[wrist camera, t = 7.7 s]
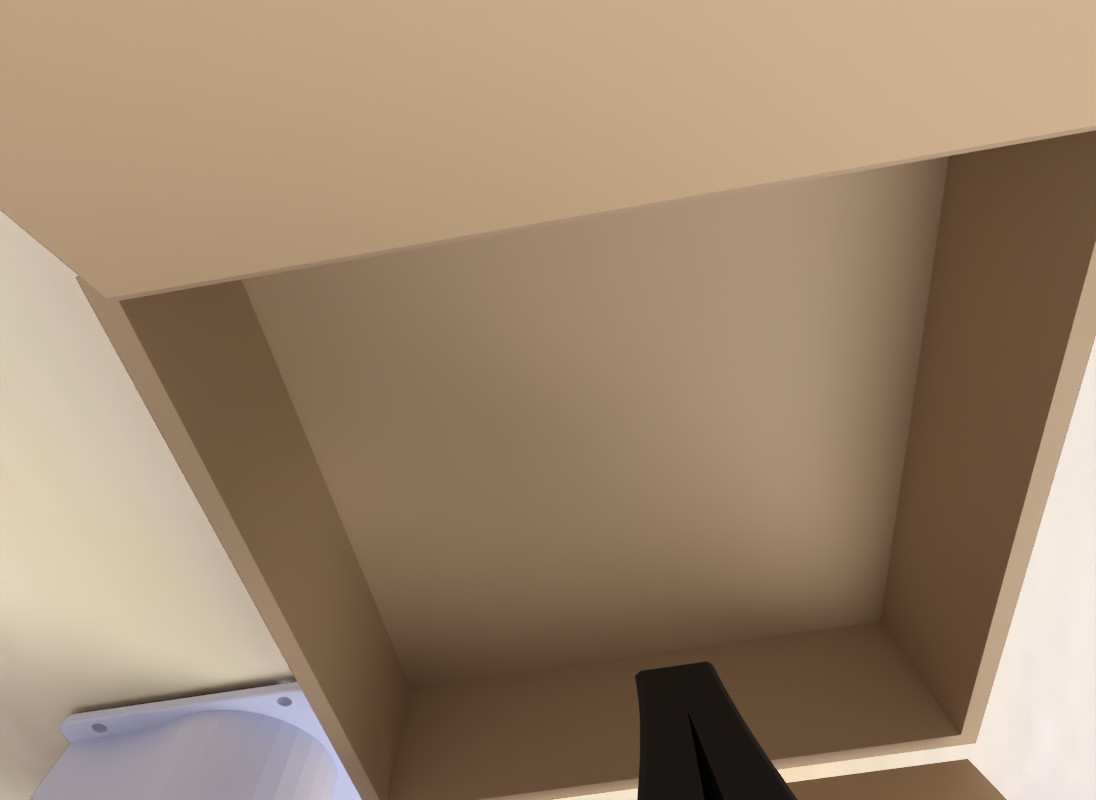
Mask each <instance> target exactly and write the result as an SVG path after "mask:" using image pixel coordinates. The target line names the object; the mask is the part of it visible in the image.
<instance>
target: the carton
mask: <svg viewBox="0 0 1096 800" xmlns="http://www.w3.org/2000/svg"><path fill="white" fill-rule="evenodd" d="M76 279H77V281H78V283H79V285H80V286H81V288H82V290H83V292H84V294H85V296H86V297H87V299H88V301H89V303H90V305H91V307H92V308H93V310H94V312H95V314H96V316H97V317H98V319H99V321H100V323H101V325H102V327H103V328H104V330H105V332H106V334H107V336H108V338H109V339H110V341H111V343H112V345H113V347H114V348H115V350H116V352H117V354H118V356H119V358H120V359H121V361H122V363H123V365H124V367H125V369H126V370H127V372H128V374H129V376H130V378H131V380H132V381H133V383H134V385H135V387H136V389H137V390H138V392H139V394H140V396H141V398H142V400H143V401H144V403H145V405H146V407H147V409H148V411H149V412H150V414H151V416H152V418H153V420H154V421H155V423H156V425H157V427H158V429H159V431H160V432H161V434H162V436H163V438H164V440H165V442H166V443H167V445H168V447H169V449H170V451H171V452H172V454H173V456H174V458H175V460H176V462H177V463H178V465H179V467H180V469H181V471H182V473H183V474H184V476H185V478H186V480H187V482H188V483H189V485H190V487H191V489H192V491H193V493H194V494H195V496H196V498H197V500H198V502H199V504H200V505H201V507H202V509H203V511H204V513H205V515H206V516H207V518H208V520H209V522H210V524H211V525H212V527H213V529H214V531H215V533H216V535H217V536H218V538H219V540H220V542H221V544H222V546H223V547H224V549H225V551H226V553H227V555H228V556H229V558H230V560H231V562H232V564H233V566H234V567H235V569H236V571H237V573H238V575H239V577H240V578H241V580H242V582H243V584H244V586H245V587H246V589H247V591H248V593H249V595H250V597H251V598H252V600H253V602H254V604H255V606H256V608H257V609H258V611H259V613H260V615H261V617H262V618H263V620H264V622H265V624H266V626H267V628H268V629H269V631H270V633H271V635H272V637H273V639H274V640H275V642H276V644H277V646H278V648H279V650H280V651H281V653H282V655H283V657H284V659H285V660H286V662H287V664H288V666H289V668H290V670H291V671H292V673H293V675H294V677H295V679H296V681H297V682H298V684H299V686H300V688H301V690H302V691H303V693H304V695H305V697H306V699H307V701H308V702H309V704H310V706H311V708H312V710H313V712H314V713H315V715H316V717H317V719H318V721H319V722H320V724H321V726H322V728H323V730H324V732H325V733H326V735H327V737H328V739H329V741H330V743H331V744H332V746H333V748H334V750H335V752H336V753H337V755H338V757H339V759H340V761H341V763H342V764H343V766H344V768H345V770H346V772H347V774H348V775H349V777H350V779H351V781H352V783H353V785H354V786H355V788H356V790H357V792H358V794H359V795H360V797H361V799H362V800H552V799H560V798H567V797H575V796H582V795H590V794H597V793H605V792H612V791H620V790H627V789H635V788H638V781H639V762H640V715H639V701H638V694H637V687H636V680H635V675H637V674H638V673H639V672H640V671H643V670H650V669H657V668H664V667H671V666H678V665H685V664H692V663H699V662H706V661H707V662H709V663H711V664H712V665H713V666H714V668H715V670H716V672H717V674H718V676H719V678H720V680H721V681H722V683H723V685H724V687H725V689H726V691H727V692H728V694H729V696H730V698H731V699H732V701H733V703H734V705H735V706H736V708H737V710H738V711H739V713H740V715H741V716H742V718H743V719H744V721H745V722H746V724H747V726H748V727H749V729H750V730H751V732H752V734H753V735H754V737H755V738H756V740H757V741H758V743H759V744H760V746H761V747H762V749H763V750H764V752H765V753H766V755H767V756H768V758H769V759H770V761H771V762H772V764H773V765H774V767H775V768H776V769H785V768H792V767H800V766H807V765H815V764H822V763H830V762H837V761H845V760H852V759H860V758H867V757H874V756H882V755H889V754H897V753H904V752H912V751H919V750H927V749H934V748H942V747H949V746H957V745H964V744H972V743H976V740H977V737H978V733H979V730H980V726H981V723H982V720H983V716H984V713H985V710H986V706H987V703H988V699H989V696H990V693H991V689H992V686H993V682H994V679H995V676H996V672H997V669H998V665H999V662H1000V659H1001V655H1002V652H1003V648H1004V645H1005V642H1006V638H1007V635H1008V631H1009V628H1010V625H1011V621H1012V618H1013V614H1014V611H1015V608H1016V604H1017V601H1018V597H1019V594H1020V591H1021V587H1022V584H1023V580H1024V577H1025V574H1026V570H1027V567H1028V563H1029V560H1030V557H1031V553H1032V550H1033V547H1034V543H1035V540H1036V536H1037V533H1038V530H1039V526H1040V523H1041V519H1042V516H1043V513H1044V509H1045V506H1046V502H1047V499H1048V496H1049V492H1050V489H1051V485H1052V482H1053V479H1054V475H1055V472H1056V468H1057V465H1058V462H1059V458H1060V455H1061V451H1062V448H1063V445H1064V441H1065V438H1066V434H1067V431H1068V428H1069V424H1070V421H1071V417H1072V414H1073V411H1074V407H1075V404H1076V400H1077V397H1078V394H1079V390H1080V387H1081V384H1082V380H1083V377H1084V373H1085V370H1086V367H1087V363H1088V360H1089V356H1090V353H1091V350H1092V346H1093V343H1094V339H1095V336H1096V126H1091V127H1085V128H1080V129H1074V130H1068V131H1063V132H1057V133H1051V134H1045V135H1040V136H1034V137H1028V138H1023V139H1017V140H1011V141H1005V142H1000V143H994V144H988V145H983V146H977V147H971V148H965V149H960V150H954V151H948V152H942V153H937V154H931V155H925V156H920V157H914V158H908V159H902V160H897V161H891V162H885V163H880V164H874V165H868V166H862V167H857V168H851V169H845V170H840V171H834V172H828V173H822V174H817V175H811V176H805V177H799V178H794V179H788V180H782V181H777V182H771V183H765V184H759V185H754V186H748V187H742V188H737V189H731V190H725V191H719V192H714V193H708V194H702V195H697V196H691V197H685V198H679V199H674V200H668V201H662V202H657V203H651V204H645V205H639V206H634V207H628V208H622V209H616V210H611V211H605V212H599V213H594V214H588V215H582V216H576V217H571V218H565V219H559V220H554V221H548V222H542V223H536V224H531V225H525V226H519V227H514V228H508V229H502V230H496V231H491V232H485V233H479V234H473V235H468V236H462V237H456V238H451V239H445V240H439V241H433V242H428V243H422V244H416V245H411V246H405V247H399V248H393V249H388V250H382V251H376V252H371V253H365V254H359V255H353V256H348V257H342V258H336V259H330V260H325V261H319V262H313V263H308V264H302V265H296V266H290V267H285V268H279V269H273V270H268V271H262V272H256V273H250V274H245V275H239V276H233V277H228V278H222V279H216V280H210V281H205V282H199V283H193V284H187V285H182V286H176V287H170V288H165V289H159V290H153V291H147V292H142V293H136V294H130V295H125V296H119V297H113V298H105V297H104V296H103V295H102V294H101V293H99V292H98V291H97V290H96V289H95V288H93V287H92V286H91V285H90V284H89V283H87V282H86V281H85V280H84V279H83V278H81V277H80V276H78V277H76Z"/></svg>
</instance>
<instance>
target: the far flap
mask: <svg viewBox="0 0 1096 800" xmlns="http://www.w3.org/2000/svg"><path fill="white" fill-rule="evenodd" d="M786 784H787V785H788V787H789V788H790V789H791V791H792V792H793V794H794V795H795V797H796V798H797V799H798V800H1006V799H1005V798H1004V796H1003V795H1002V794H1001V793H1000V792H999V791H998V790H997V789H996V788H995V787H994V786H993V785H992V784H991V783H990V782H989V781H988V780H987V779H986V778H985V777H984V776H983V775H982V773H981V772H980V771H979V770H978V769H977V768H976V767H975V766H974V765H973V764H972V763H971V762H970V761H969V760H968V759H965V760H957V761H950V762H942V763H934V764H927V765H919V766H912V767H904V768H897V769H889V770H882V771H874V772H866V773H859V774H851V775H844V776H836V777H829V778H821V779H814V780H806V781H798V782H791V783H786Z"/></svg>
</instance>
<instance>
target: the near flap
mask: <svg viewBox="0 0 1096 800" xmlns="http://www.w3.org/2000/svg"><path fill="white" fill-rule="evenodd" d="M1091 126H1096V0H0V210H1V211H2V212H3V213H4V214H6V215H7V216H8V217H9V218H10V219H12V220H13V221H14V222H15V223H16V224H18V225H19V226H20V227H21V228H22V229H24V230H25V231H26V232H27V233H28V234H30V235H31V236H32V237H33V238H34V239H36V240H37V241H38V242H39V243H40V244H42V245H43V246H44V247H45V248H46V249H48V250H49V251H50V252H51V253H52V254H54V255H55V256H56V257H57V258H59V259H60V260H61V261H62V262H63V263H65V264H66V265H67V266H68V267H69V268H71V269H72V270H73V271H74V272H75V273H77V274H78V275H79V276H80V277H81V278H83V279H84V280H85V281H86V282H87V283H89V284H90V285H91V286H92V287H93V288H95V289H96V290H97V291H98V292H99V293H101V294H102V295H103V296H104V297H105V298H113V297H119V296H125V295H130V294H136V293H142V292H147V291H153V290H159V289H165V288H170V287H176V286H182V285H187V284H193V283H199V282H205V281H210V280H216V279H222V278H228V277H233V276H239V275H245V274H250V273H256V272H262V271H268V270H273V269H279V268H285V267H290V266H296V265H302V264H308V263H313V262H319V261H325V260H330V259H336V258H342V257H348V256H353V255H359V254H365V253H371V252H376V251H382V250H388V249H393V248H399V247H405V246H411V245H416V244H422V243H428V242H433V241H439V240H445V239H451V238H456V237H462V236H468V235H473V234H479V233H485V232H491V231H496V230H502V229H508V228H514V227H519V226H525V225H531V224H536V223H542V222H548V221H554V220H559V219H565V218H571V217H576V216H582V215H588V214H594V213H599V212H605V211H611V210H616V209H622V208H628V207H634V206H639V205H645V204H651V203H657V202H662V201H668V200H674V199H679V198H685V197H691V196H697V195H702V194H708V193H714V192H719V191H725V190H731V189H737V188H742V187H748V186H754V185H759V184H765V183H771V182H777V181H782V180H788V179H794V178H799V177H805V176H811V175H817V174H822V173H828V172H834V171H840V170H845V169H851V168H857V167H862V166H868V165H874V164H880V163H885V162H891V161H897V160H902V159H908V158H914V157H920V156H925V155H931V154H937V153H942V152H948V151H954V150H960V149H965V148H971V147H977V146H983V145H988V144H994V143H1000V142H1005V141H1011V140H1017V139H1023V138H1028V137H1034V136H1040V135H1045V134H1051V133H1057V132H1063V131H1068V130H1074V129H1080V128H1085V127H1091Z"/></svg>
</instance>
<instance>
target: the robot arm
mask: <svg viewBox="0 0 1096 800" xmlns="http://www.w3.org/2000/svg"><path fill="white" fill-rule="evenodd" d="M635 680H636V687H637V694H638V701H639V715H640V762H639V781H638V800H798V799H797V798H796V797H795V795H794V794H793V792H792V791H791V789H790V788H789V787H788V785H787V784H786V782H785V781H784V779H783V778H782V777H781V775H780V774H779V772H778V771H777V769H776V768H775V767H774V765H773V764H772V762H771V761H770V759H769V758H768V756H767V755H766V753H765V752H764V750H763V749H762V747H761V746H760V744H759V743H758V741H757V740H756V738H755V737H754V735H753V734H752V732H751V730H750V729H749V727H748V726H747V724H746V722H745V721H744V719H743V718H742V716H741V715H740V713H739V711H738V710H737V708H736V706H735V705H734V703H733V701H732V699H731V698H730V696H729V694H728V692H727V691H726V689H725V687H724V685H723V683H722V681H721V680H720V678H719V676H718V674H717V672H716V670H715V668H714V666H713V665H712V664H711V663H709V662H707V661H706V662H699V663H692V664H685V665H678V666H671V667H664V668H657V669H650V670H643V671H640V672H639V673H638V674H637V675H635ZM60 731H61V733H62V734H63V736H64V737H65V738H66V739H67V740H68V741H69V742H70V744H69V745H68V747H67V748H66V749H65V751H64V752H63V754H62V755H61V756H60V758H59V759H58V760H57V762H56V763H55V765H54V766H53V767H52V769H51V770H50V771H49V773H48V774H47V776H46V777H45V778H44V780H43V781H42V782H41V784H40V785H39V787H38V788H37V789H36V791H35V792H34V793H33V795H32V796H31V798H30V799H29V800H362V799H361V797H360V795H359V794H358V792H357V790H356V788H355V786H354V785H353V783H352V781H351V779H350V777H349V775H348V774H347V772H346V770H345V768H344V766H343V764H342V763H341V761H340V759H339V757H338V755H337V753H336V752H335V750H334V748H333V746H332V744H331V743H330V741H329V739H328V737H327V735H326V733H325V732H324V730H323V728H322V726H321V724H320V722H319V721H318V719H317V717H316V715H315V713H314V712H313V710H312V708H311V706H310V704H309V702H308V701H307V699H306V697H305V695H304V693H303V691H302V690H301V688H300V686H299V684H298V682H292V683H285V684H278V685H271V686H264V687H257V688H250V689H243V690H236V691H229V692H222V693H216V694H209V695H202V696H195V697H188V698H181V699H174V700H167V701H160V702H153V703H146V704H139V705H132V706H126V707H119V708H112V709H105V710H98V711H91V712H84V713H77V714H72V715H69V716H68V717H67V718H66V719H65V720H64V721H63V723H62V724H61V725H60Z"/></svg>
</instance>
